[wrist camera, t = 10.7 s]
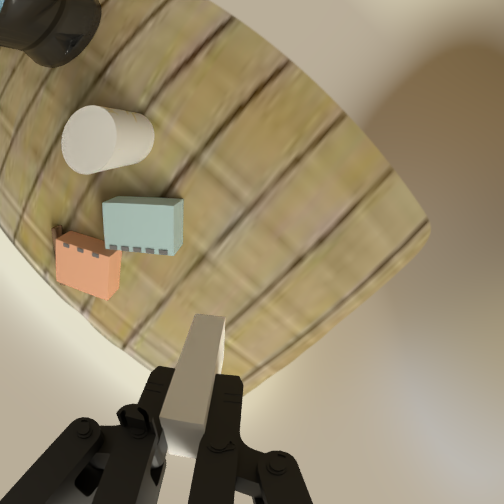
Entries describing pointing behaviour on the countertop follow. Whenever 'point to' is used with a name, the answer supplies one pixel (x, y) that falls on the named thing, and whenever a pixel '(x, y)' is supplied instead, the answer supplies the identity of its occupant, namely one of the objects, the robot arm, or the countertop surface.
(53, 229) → the rail
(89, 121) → the cup
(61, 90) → the countertop surface
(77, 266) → the stub
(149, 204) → the pale teal block
